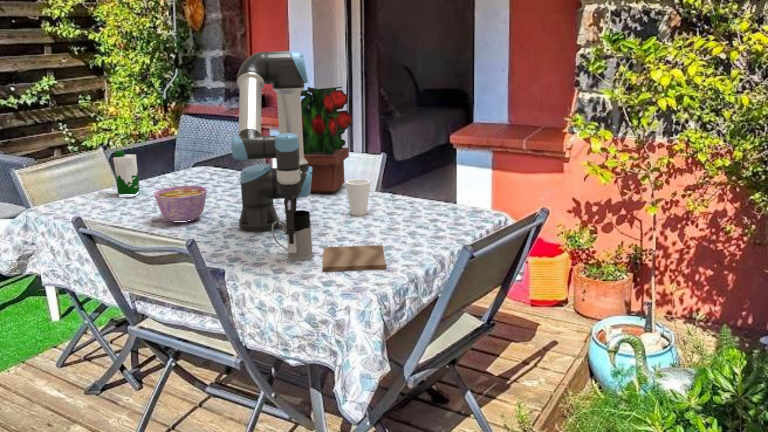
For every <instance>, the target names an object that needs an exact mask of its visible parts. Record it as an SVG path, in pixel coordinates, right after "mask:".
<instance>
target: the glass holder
mask: <svg viewBox="0 0 768 432" xmlns="http://www.w3.org/2000/svg"><path fill="white" fill-rule="evenodd" d="M310 214H311V213H310V211H308V210H301V209H300V210H299V209H298V210H297V209H296V216H294V221H295V234H296V251H297V252H296V253H288V252H287V256H286V257H287V259H288V260H290V261H297V262H299V261H301V262H302V261H307V260H311V259H312V258H314V253H313V247H312V246H313V245H312V225H311V222H312V221H311V216H310ZM277 222H279V223H281V224H282V230H283V232H284V233H285V232H286V231H287V230H286V228H285V224H284V222H283V221H281V220H279V221H276V222H274V223H273V225H272V230H271V233H272V237H273V240H274V241H275V242H276V244H278V246H280V247H281V248H283V249H285V250H286V251H288V247H287V248H286V247H285V246H284V245H282V244H281V243H280V242H279V241H278V240H277V238H276V236H275V232H274V229H273V227H274V224H275V223H277Z"/></svg>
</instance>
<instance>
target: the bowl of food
mask: <svg viewBox="0 0 768 432" xmlns="http://www.w3.org/2000/svg"><path fill="white" fill-rule="evenodd" d="M207 192H208V189H207V188H206V187H204V186H199V185H178V186H170V187H166V188H165V187H163V188H162V189H158V190H156V191H154V193H153V194H154V199H155V201H156V204H157V206H158V209H159V211H160V214H161V215H162V216H163V217H164V218H165V219H167V220H169V221H172V222H173V221H188V220H192V219H194V220H195V219H196V218H198V217H200V216H201V215H202V214H203V212H204V210H205V205H206V199H207V198H206V197H207Z"/></svg>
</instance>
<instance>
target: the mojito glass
mask: <svg viewBox="0 0 768 432" xmlns="http://www.w3.org/2000/svg"><path fill="white" fill-rule="evenodd" d="M112 161H113V164H114V172H115V173H114V174H115V181H116V187H117V188H116V189H117V195H118V194H136V193H137V192H138V191H139V192H140V179H139V173H138V172H139V171H138V163H137V154H131V153H130V154H127V153H126V154H125V151H124V150H116V151H114V156H113V158H112Z"/></svg>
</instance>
